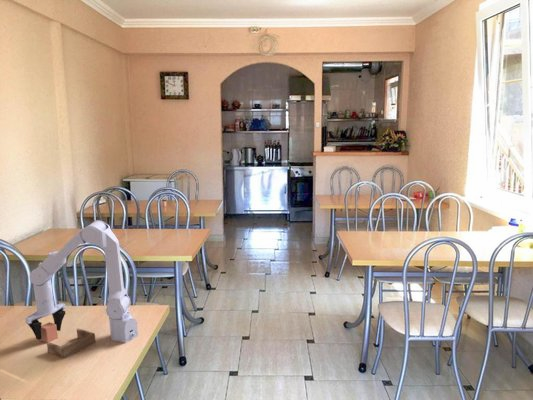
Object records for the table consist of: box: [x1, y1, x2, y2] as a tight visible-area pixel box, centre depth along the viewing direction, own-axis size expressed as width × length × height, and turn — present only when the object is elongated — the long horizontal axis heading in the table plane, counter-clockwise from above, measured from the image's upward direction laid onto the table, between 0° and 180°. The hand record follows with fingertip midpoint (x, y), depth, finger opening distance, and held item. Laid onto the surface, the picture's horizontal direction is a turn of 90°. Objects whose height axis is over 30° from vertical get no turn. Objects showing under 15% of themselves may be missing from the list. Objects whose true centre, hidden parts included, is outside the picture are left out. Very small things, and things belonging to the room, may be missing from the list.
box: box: [46, 328, 96, 359], centre depth 158 cm, size 9×13×4 cm
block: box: [40, 322, 59, 344], centre depth 164 cm, size 4×4×6 cm
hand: (48, 334), depth 164 cm, fingers open, 7 cm apart
